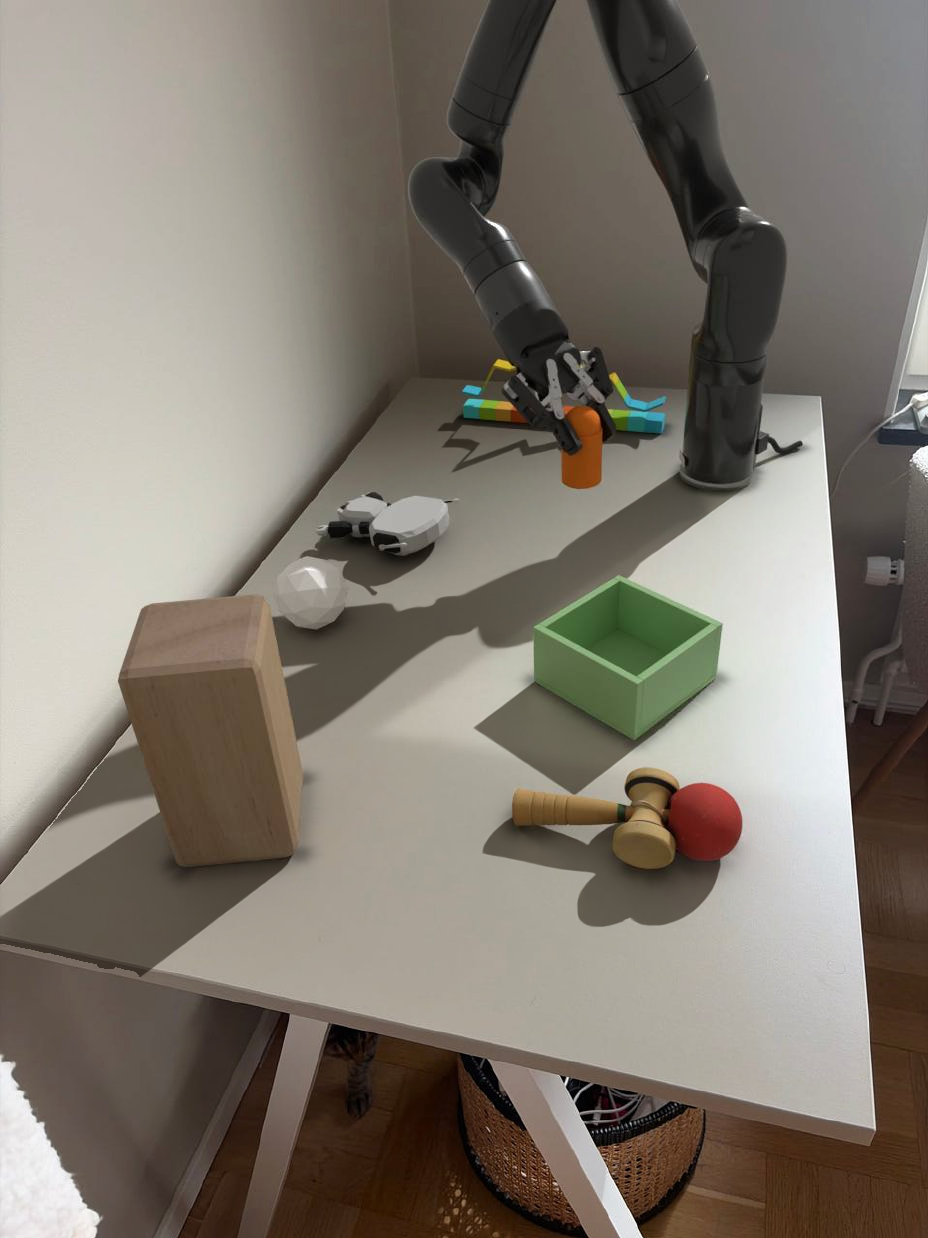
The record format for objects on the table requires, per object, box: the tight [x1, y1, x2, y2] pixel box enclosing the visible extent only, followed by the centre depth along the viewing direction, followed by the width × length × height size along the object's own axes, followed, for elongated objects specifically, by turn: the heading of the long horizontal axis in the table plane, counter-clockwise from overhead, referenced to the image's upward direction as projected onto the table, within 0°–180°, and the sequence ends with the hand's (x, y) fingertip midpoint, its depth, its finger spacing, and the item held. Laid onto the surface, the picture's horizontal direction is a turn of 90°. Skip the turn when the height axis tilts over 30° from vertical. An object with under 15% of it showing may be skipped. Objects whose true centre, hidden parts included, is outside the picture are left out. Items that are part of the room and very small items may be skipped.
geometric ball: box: [273, 555, 349, 630], centre depth 105 cm, size 8×8×8 cm
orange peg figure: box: [560, 405, 603, 490], centre depth 111 cm, size 5×5×9 cm
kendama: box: [511, 766, 743, 870], centre depth 78 cm, size 8×6×18 cm
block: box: [117, 593, 304, 868], centre depth 77 cm, size 10×10×20 cm
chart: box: [461, 358, 667, 434], centre depth 143 cm, size 30×3×15 cm, turn 72°
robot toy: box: [315, 491, 461, 557], centre depth 120 cm, size 12×4×15 cm
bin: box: [532, 574, 723, 741], centre depth 94 cm, size 13×13×7 cm
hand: (593, 444), depth 109 cm, fingers closed on orange peg figure, 4 cm apart
